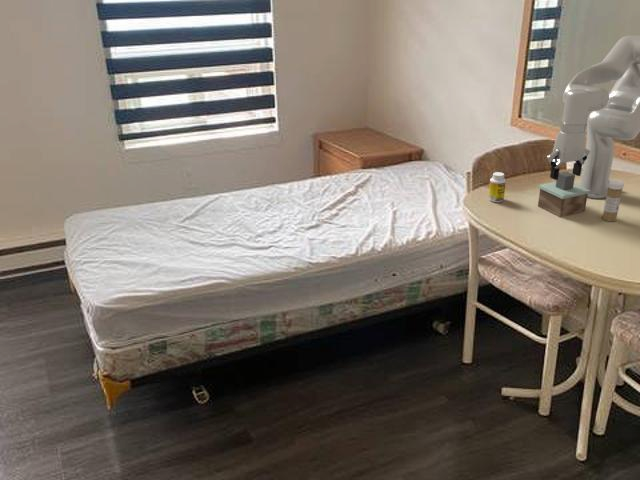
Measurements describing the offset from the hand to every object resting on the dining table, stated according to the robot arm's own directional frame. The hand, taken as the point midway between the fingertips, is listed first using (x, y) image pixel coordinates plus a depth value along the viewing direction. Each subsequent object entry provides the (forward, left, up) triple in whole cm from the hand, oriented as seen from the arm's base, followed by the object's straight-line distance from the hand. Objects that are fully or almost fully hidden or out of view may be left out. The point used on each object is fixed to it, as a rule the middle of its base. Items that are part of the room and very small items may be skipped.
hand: (565, 176), depth 203 cm
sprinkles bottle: (-9, +14, -12) cm, 20 cm away
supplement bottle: (+14, -17, -12) cm, 26 cm away
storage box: (-1, 0, -12) cm, 12 cm away
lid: (-1, 0, -6) cm, 6 cm away
